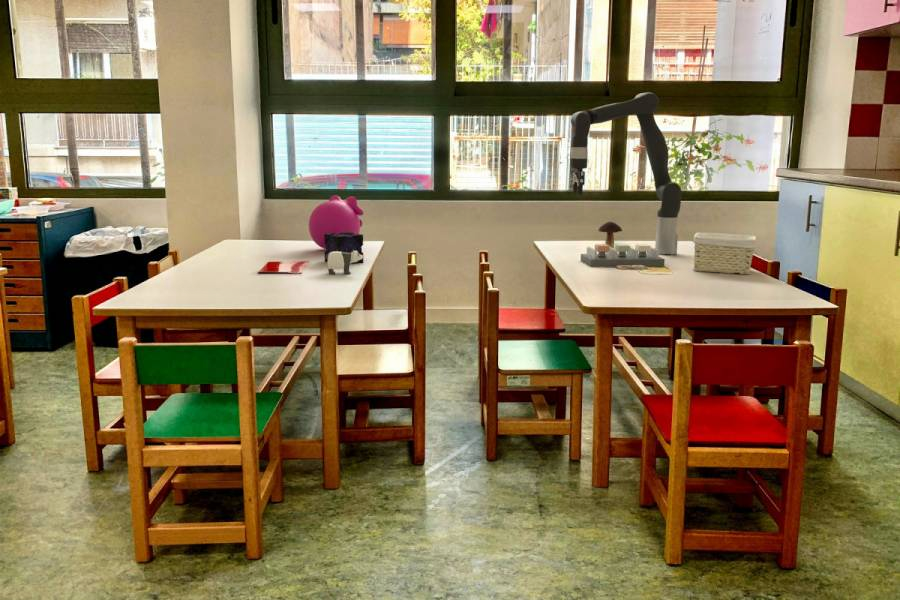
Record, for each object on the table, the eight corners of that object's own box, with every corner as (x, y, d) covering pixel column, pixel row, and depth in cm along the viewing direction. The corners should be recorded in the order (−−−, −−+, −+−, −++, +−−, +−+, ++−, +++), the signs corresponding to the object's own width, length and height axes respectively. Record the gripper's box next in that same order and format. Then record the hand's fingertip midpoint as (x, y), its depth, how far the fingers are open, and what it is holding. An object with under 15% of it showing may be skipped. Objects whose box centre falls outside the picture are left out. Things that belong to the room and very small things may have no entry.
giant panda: (326, 275, 298) (325, 250, 296) (325, 272, 304) (325, 248, 302) (364, 274, 301) (364, 249, 299) (363, 271, 306) (362, 247, 304)
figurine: (371, 249, 367) (370, 196, 362) (338, 255, 347) (337, 199, 342) (333, 245, 379) (332, 193, 374) (299, 251, 359) (297, 196, 354)
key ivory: (645, 254, 337) (646, 244, 336) (649, 256, 332) (650, 245, 331) (634, 254, 337) (635, 244, 336) (638, 256, 332) (639, 245, 331)
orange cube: (605, 255, 335) (606, 244, 335) (609, 256, 331) (609, 245, 330) (594, 255, 335) (594, 244, 334) (597, 256, 330) (598, 245, 329)
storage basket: (753, 270, 322) (756, 234, 319) (753, 276, 307) (756, 239, 304) (692, 266, 330) (695, 231, 327) (690, 272, 315) (693, 236, 312)
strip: (643, 267, 324) (643, 264, 324) (647, 269, 320) (647, 266, 320) (615, 267, 323) (615, 265, 323) (619, 269, 319) (619, 266, 319)
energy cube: (338, 265, 321) (337, 236, 319) (324, 261, 331) (324, 233, 328) (363, 263, 328) (363, 234, 326) (349, 259, 338) (349, 231, 335)
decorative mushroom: (607, 256, 355) (609, 223, 352) (592, 252, 364) (593, 220, 361) (625, 254, 360) (627, 222, 357) (610, 251, 369) (612, 220, 366)
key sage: (625, 254, 336) (626, 244, 335) (629, 256, 332) (630, 245, 331) (614, 254, 336) (615, 244, 335) (618, 256, 331) (618, 245, 330)
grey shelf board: (651, 260, 344) (652, 245, 342) (664, 266, 328) (665, 251, 327) (580, 260, 341) (581, 245, 339) (590, 266, 325) (591, 251, 324)
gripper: (591, 158, 341) (589, 195, 345) (583, 157, 355) (581, 192, 358) (574, 157, 341) (573, 195, 344) (567, 157, 355) (565, 192, 358)
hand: (577, 193), depth 351 cm, fingers open, 8 cm apart
